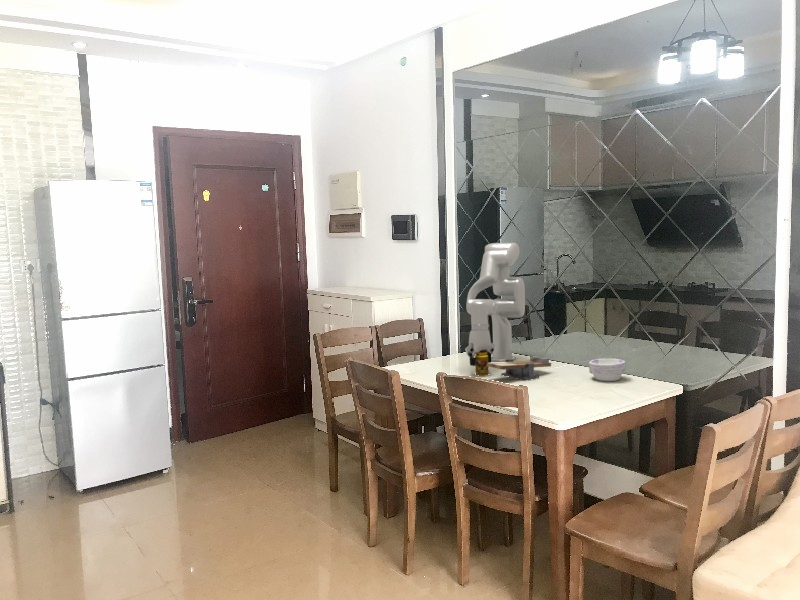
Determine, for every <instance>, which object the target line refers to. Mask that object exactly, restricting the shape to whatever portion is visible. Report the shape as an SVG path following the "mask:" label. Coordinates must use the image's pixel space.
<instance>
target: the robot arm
mask: <svg viewBox="0 0 800 600" xmlns="http://www.w3.org/2000/svg"><path fill="white" fill-rule="evenodd" d="M519 256H520V247H519V245H518V243H516V242H493V243H489V244H486V245H485V246H484V253H483V256H482V260H481V261H482V262H481V268H480V273H479V277H478V278H479V279H478V280H476V281H475V282H474V283H473V285H472V286H471V287H470V288H469V291H468V292H467V298H466V306H465V307H466V312H467V313H468V315H470V316H471V317H470V319H471V320H470V321H471V325H470V326H471V330H470V331H469V337H468V346H466V347H465V349H464V350H465V353H466V355H467V356H468V358H469V365H470V366H472V367H475V355H476V353H479V352H480V351H481V350H487V355H488V363H492V362H506V360H507V359H513V361H515V360H516V356H515V355H513V341H512V340H513V337H512V336H513V335H512V333H513V332H512V323H511V322H510V321H509V320H508V318H522V317H524V315H525V312H526V297H525V296H526V291H525V290H526V287H525V282H524V279H523V278H521V277H519V276H511V273H510V272H511V271H510V267H512V266H513V265H514V263H515V262H516V261H517V259H518V258H519ZM489 287H490V288H491V287H492V291H493V295H496V296H499V297H514V298H495V299H490V298H487V299H486V298H476V297H477V295H478V294H480V292H483V290H485V289H487V288H489ZM489 316H491V323H492V324H491V325H492V341H491V335H490V330H489V327H490V324H489V321H488V320H489V319H488V317H489Z"/></svg>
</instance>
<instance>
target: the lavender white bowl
mask: <svg viewBox="0 0 800 600" xmlns="http://www.w3.org/2000/svg"><path fill="white" fill-rule="evenodd" d="M626 366H627V365H626V361H625V360H623V359H620V358H619V359H618V358H597V359H592V360H590V361H589V362H588V370H589V371H588V372H589V373H590V374H591V375H593V377H594V379H595V380H598V381H601V382H602V381H603V382H616V381H618V380H620V379H621V377H622V376H623V375H625V374H626V372H627V370H626V369H627V367H626Z"/></svg>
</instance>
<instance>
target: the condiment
mask: <svg viewBox="0 0 800 600" xmlns="http://www.w3.org/2000/svg"><path fill="white" fill-rule="evenodd" d="M474 357H475V366H474V368H475V369H474V370H475V373H476V375H479V376H483V377H486V376H485V375H488V374H490V372H489V371H490V369H489V368H490V367H487V363H488V355H487V350H481V351H480V352H479V353H476V354H475V356H474ZM471 375H473V376H475V374H472V373H471ZM479 376H478V377H479Z"/></svg>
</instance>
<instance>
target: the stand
mask: <svg viewBox="0 0 800 600" xmlns="http://www.w3.org/2000/svg"><path fill="white" fill-rule="evenodd" d="M506 362H513V359H507V360H506ZM500 375H501V376H502V375H504V377H506V376H509V377H508V378H511V377H513V378H512V379H515V378H518V379H517V380H520V379H522V380H521V381H524V380H528V381H532V380H531V379H533V380H536V378H537V379H540V375H537V374H535V368H534V363H527V364H526V368H520V369H505V372H501V373H500Z"/></svg>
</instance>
